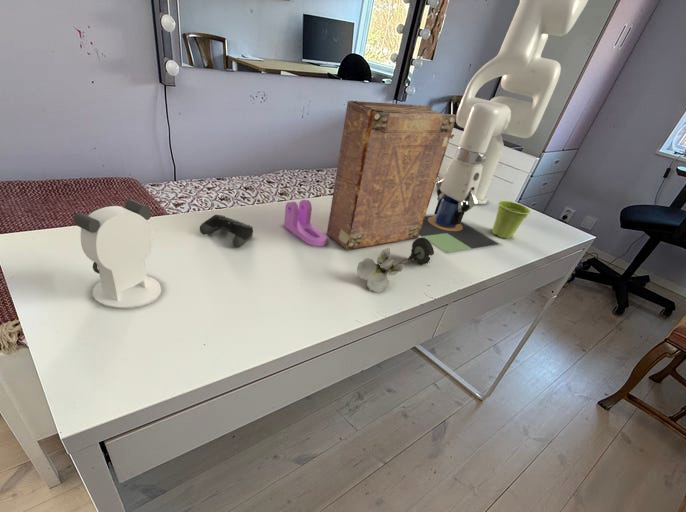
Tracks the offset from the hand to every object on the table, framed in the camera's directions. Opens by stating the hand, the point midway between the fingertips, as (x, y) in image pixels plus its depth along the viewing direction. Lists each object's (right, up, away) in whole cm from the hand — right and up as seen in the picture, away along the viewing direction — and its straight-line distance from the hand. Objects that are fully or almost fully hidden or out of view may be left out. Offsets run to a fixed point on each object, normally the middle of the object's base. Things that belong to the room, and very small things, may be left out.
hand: (446, 218), depth 120 cm
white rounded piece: (-74, -31, -48) cm, 94 cm away
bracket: (-42, -11, -19) cm, 48 cm away
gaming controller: (-61, -14, -27) cm, 68 cm away
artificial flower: (-22, -24, -29) cm, 43 cm away
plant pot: (+17, -5, +1) cm, 18 cm away
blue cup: (0, -1, +1) cm, 2 cm away
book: (-25, -10, -14) cm, 30 cm away
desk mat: (-1, -5, -4) cm, 7 cm away
